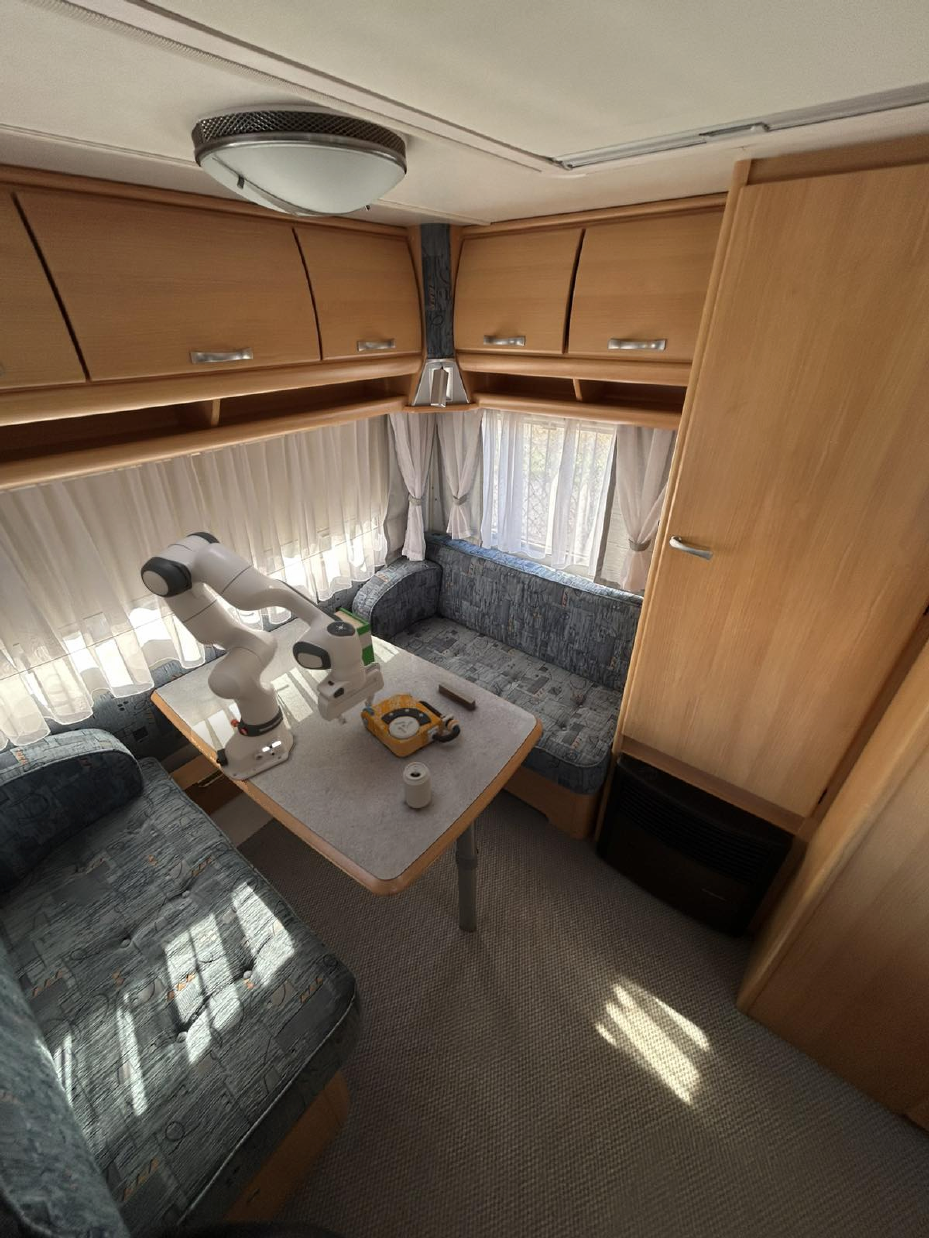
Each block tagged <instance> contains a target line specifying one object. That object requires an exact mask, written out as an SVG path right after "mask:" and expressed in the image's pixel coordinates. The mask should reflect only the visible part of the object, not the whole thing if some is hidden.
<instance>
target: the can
mask: <svg viewBox="0 0 929 1238" xmlns="http://www.w3.org/2000/svg"><path fill="white" fill-rule="evenodd" d="M402 782H403V783H402V784H403V789H404V790H403V791H404V799H405V802H406V804H407V805H408V806H409V807H410V808H413V809H419V808H423V807H426V806H427V805H428V804H430V801H431V799H432V788H431V775H430V770H429V768H428V767H427V766H426V765H425V764H424V763H422V762H418V761H415V762H410V763H408V765H406V766H405V768H404V770H403V772H402Z"/></svg>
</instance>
